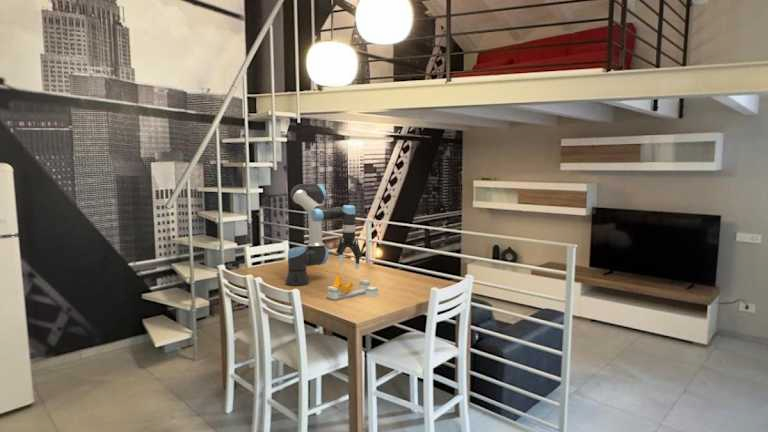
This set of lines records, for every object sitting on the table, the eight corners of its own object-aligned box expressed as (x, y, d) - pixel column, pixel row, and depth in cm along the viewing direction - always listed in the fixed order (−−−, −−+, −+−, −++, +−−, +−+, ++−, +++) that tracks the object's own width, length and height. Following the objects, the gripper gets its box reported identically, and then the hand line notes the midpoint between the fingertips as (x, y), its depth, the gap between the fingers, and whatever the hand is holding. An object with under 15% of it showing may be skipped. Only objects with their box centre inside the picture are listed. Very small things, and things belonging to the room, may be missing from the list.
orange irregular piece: (337, 287, 282) (342, 277, 284) (332, 286, 285) (337, 275, 287) (351, 294, 290) (355, 284, 292) (346, 293, 293) (350, 283, 295)
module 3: (365, 296, 292) (365, 288, 291) (370, 294, 296) (370, 286, 295) (372, 297, 289) (372, 289, 288) (377, 295, 293) (377, 287, 292)
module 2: (359, 289, 303) (359, 280, 303) (362, 288, 306) (362, 279, 305) (366, 291, 299) (366, 281, 299) (369, 290, 301) (369, 280, 301)
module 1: (327, 297, 286) (327, 286, 285) (331, 296, 288) (331, 286, 287) (334, 299, 281) (334, 288, 281) (338, 298, 284) (338, 287, 283)
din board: (326, 298, 286) (326, 296, 286) (361, 290, 306) (361, 288, 306) (335, 301, 281) (335, 298, 281) (370, 292, 301) (370, 290, 301)
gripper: (330, 230, 296) (330, 264, 298) (358, 234, 279) (358, 271, 281) (340, 228, 301) (340, 263, 304) (368, 233, 284) (368, 269, 286)
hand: (348, 267), depth 292 cm, fingers open, 13 cm apart
